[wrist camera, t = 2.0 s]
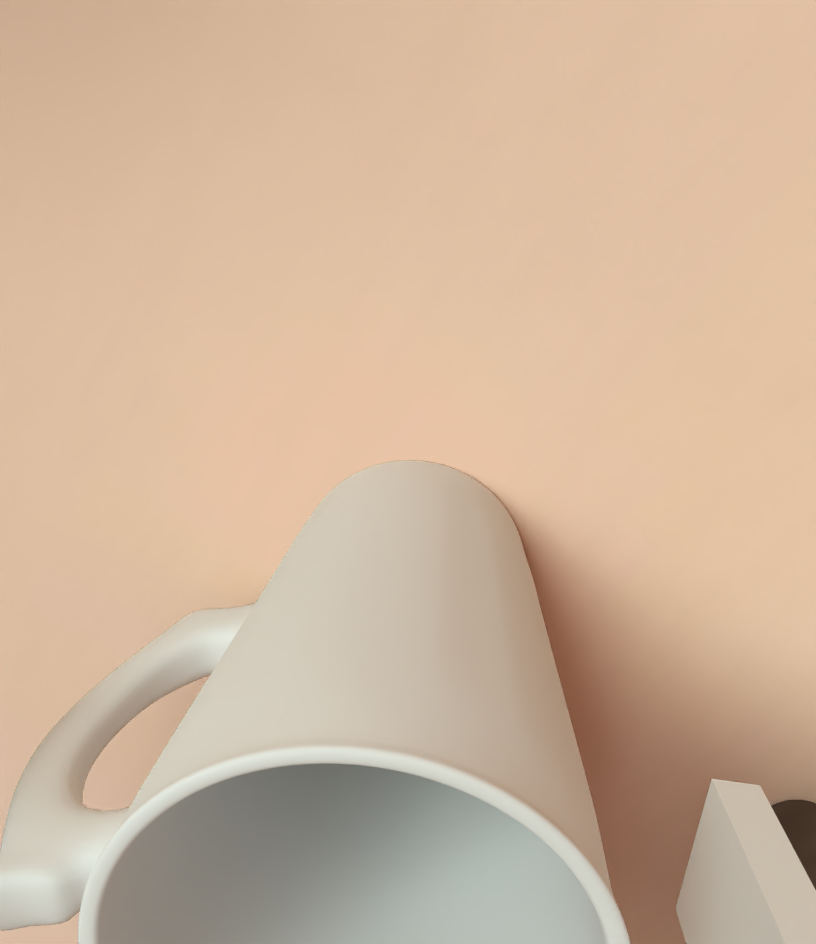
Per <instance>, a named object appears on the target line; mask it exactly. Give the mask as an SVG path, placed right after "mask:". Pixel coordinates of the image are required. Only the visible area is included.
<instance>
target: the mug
mask: <svg viewBox="0 0 816 944" xmlns="http://www.w3.org/2000/svg"><path fill="white" fill-rule="evenodd" d="M209 675H210V676H209ZM206 676H209V678H208V680H207V681H206V683H205V684H204V686H203V687H202V689H201V691H200V692H199V694H198V695H197V697H196V699H195V700H194V702H193V703H192V705H191V707H190V708H189V710H188V711H187V713H186V715H185V716H184V718H183V719H182V721H181V723H180V724H179V726H178V727H177V729H176V731H175V732H174V734H173V735H172V737H171V739H170V740H169V742H168V744H167V745H166V747H165V748H164V750H163V752H162V753H161V755H160V757H159V758H158V760H157V762H156V763H155V765H154V766H153V768H152V770H151V771H150V773H149V775H148V776H147V778H146V780H145V781H144V783H143V785H142V786H141V788H140V790H139V792H138V793H137V795H136V797H135V799H134V800H133V802H132V804H131V806H130V807H127V808H124V809H120V810H110V811H101V810H96V809H90V808H87V807H86V806H85V805H83V804H82V798H83V789H84V784H85V781H86V778H87V776H88V773H89V771H90V769H91V767H92V765H93V764H94V762H95V760H96V759H97V757H98V756H99V754H100V753H101V752H102V750H103V749H104V748H105V747H106V745H107V744H108V743H109V742H110V741H111V739H112V738H113V737H114V736H115V735H116V734H117V733H118V732H119V731H120V730H121V729H122V728H123V727H124V726H125V725H126V724H127V723H128V722H129V721H130V720H132V719H133V718H134V717H135V716H136V715H137V714H139V713H140V712H141V711H142V710H144V709H145V708H147V707H148V706H149V705H151V704H152V703H154V702H155V701H157V700H158V699H160V698H162V697H163V696H165V695H167V694H169V693H171V692H172V691H174V690H176V689H178V688H180V687H182V686H184V685H187V684H189V683H191V682H193V681H196V680H198V679H201V678H203V677H206ZM79 911H80V914H79V924H78V944H631V943H630V939H629V935H628V931H627V928H626V925H625V922H624V919H623V917H622V914H621V912H620V909H619V907H618V905H617V903H616V901H615V899H614V897H613V892H612V888H611V884H610V879H609V874H608V869H607V864H606V860H605V855H604V850H603V845H602V840H601V835H600V831H599V826H598V822H597V817H596V813H595V809H594V805H593V801H592V797H591V793H590V790H589V786H588V782H587V778H586V775H585V771H584V767H583V763H582V760H581V756H580V752H579V749H578V745H577V741H576V738H575V734H574V730H573V727H572V723H571V719H570V716H569V712H568V708H567V704H566V701H565V697H564V693H563V690H562V686H561V682H560V679H559V675H558V671H557V668H556V664H555V660H554V656H553V653H552V649H551V645H550V641H549V638H548V634H547V630H546V626H545V623H544V619H543V615H542V611H541V607H540V603H539V599H538V595H537V592H536V588H535V584H534V580H533V577H532V574H531V571H530V568H529V565H528V562H527V559H526V555H525V552H524V548H523V545H522V541H521V538H520V535H519V532H518V530H517V528H516V525H515V523H514V521H513V519H512V518H511V516H510V514H509V513H508V511H507V510H506V508H505V507H504V506H503V504H502V503H501V502H500V501H499V500H498V499H497V497H496V496H495V495H494V494H493V493H492V492H490V491H489V490H488V489H487V488H486V487H485V486H483V485H482V484H481V483H479V482H478V481H476V480H475V479H473V478H472V477H470V476H468V475H466V474H465V473H462V472H460V471H458V470H456V469H453V468H451V467H448V466H445V465H441V464H437V463H433V462H427V461H417V460H402V461H392V462H387V463H382V464H378V465H375V466H371V467H369V468H366V469H364V470H361V471H359V472H357V473H355V474H353V475H351V476H350V477H348V478H346V479H345V480H343V481H342V482H341V483H339V484H338V485H337V486H336V487H334V488H333V489H332V490H331V491H330V492H329V493H328V494H327V495H326V496H325V497H324V498H323V500H322V501H321V502H320V503H319V505H318V506H317V507H316V509H315V510H314V512H313V513H312V514H311V516H310V517H309V519H308V520H307V522H306V523H305V524H304V526H303V527H302V529H301V530H300V532H299V533H298V535H297V536H296V538H295V540H294V541H293V543H292V545H291V546H290V548H289V549H288V551H287V553H286V554H285V556H284V558H283V559H282V561H281V563H280V564H279V566H278V568H277V569H276V571H275V572H274V574H273V576H272V577H271V579H270V581H269V582H268V584H267V585H266V587H265V589H264V590H263V592H262V593H261V595H260V597H259V598H258V600H257V601H256V603H254V604H250V605H245V606H239V607H232V608H220V609H202V610H198V611H194V612H192V613H190V614H188V615H187V616H185V617H184V618H182V619H181V620H180V621H178V622H177V623H176V624H174V625H173V626H172V627H170V628H169V629H168V630H167V631H165V632H164V633H163V634H161V635H160V636H159V637H157V638H156V639H155V640H153V641H152V642H151V643H149V644H148V645H147V646H145V647H144V648H143V649H141V650H140V651H139V652H137V653H136V654H135V655H133V656H132V657H131V658H130V659H128V660H127V661H126V662H124V663H123V664H122V665H120V666H119V667H118V668H117V669H115V670H114V671H113V672H112V673H110V674H109V675H108V676H107V677H106V678H105V679H103V680H102V681H101V682H100V683H99V684H97V685H96V686H95V687H94V688H93V689H92V690H90V691H89V692H88V693H87V694H86V695H85V696H84V697H83V698H82V699H81V700H80V701H78V702H77V703H76V704H75V705H74V706H73V707H72V708H71V709H70V710H69V711H68V712H67V713H66V714H65V715H64V716H63V717H62V718H61V720H60V721H59V722H58V723H57V724H56V725H55V726H54V727H53V728H52V730H51V731H50V732H49V733H48V735H47V736H46V737H45V738H44V740H43V741H42V742H41V744H40V745H39V746H38V748H37V749H36V751H35V752H34V754H33V755H32V757H31V758H30V760H29V762H28V764H27V766H26V768H25V769H24V771H23V774H22V776H21V778H20V780H19V782H18V785H17V787H16V790H15V792H14V795H13V798H12V801H11V804H10V807H9V811H8V815H7V819H6V823H5V828H4V833H3V838H2V843H1V848H0V930H13V929H18V928H23V927H28V926H38V925H53V924H60V923H63V922H66V921H68V920H69V919H71V918H72V917H73V916H74V915H75V914H77V913H78V912H79Z"/></svg>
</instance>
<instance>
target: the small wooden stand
mask: <svg viewBox="0 0 816 944" xmlns="http://www.w3.org/2000/svg"><path fill="white" fill-rule="evenodd" d="M771 807H772V809H773V811H774V813H775V815H776V816H777V818H778V820H779V822H780V824H781V826H782V828H783V830H784V832H785V833H786V835H787V837H788V839H789V841H790V843H791V845H792V847H793V849H794V850H795V852H796V854H797V856H798V858H799V860H800V862H801V864H802V866H803V867H804V869H805V871H806V873H807V875H808V877H809V879H810V881H811V883H812V884H813V886H814V888H815V890H816V804H815V803H812V802H809V801H804V800H790V801H784V802H780V803H778V804H775V805H773V806H771Z"/></svg>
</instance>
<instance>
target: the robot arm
mask: <svg viewBox="0 0 816 944" xmlns="http://www.w3.org/2000/svg"><path fill="white" fill-rule="evenodd" d="M676 912H677V915H678V919H679V922H680V925H681V928H682V932H683V935H684V938H685V942H686V944H816V890H815V888H814V886H813V884H812V883H811V881H810V879H809V877H808V875H807V873H806V871H805V869H804V867H803V866H802V864H801V862H800V860H799V858H798V856H797V854H796V852H795V850H794V849H793V847H792V845H791V843H790V841H789V839H788V837H787V835H786V833H785V832H784V830H783V828H782V826H781V824H780V822H779V820H778V818H777V816H776V815H775V813H774V811H773V809H772V807H771V805H770V803H769V801H768V799H767V798H766V796H765V794H764V792H763V790H762V788H761V786H760V785H755V784H747V783H740V782H733V781H726V780H719V779H711V783H710V786H709V790H708V794H707V797H706V801H705V804H704V808H703V812H702V815H701V819H700V822H699V826H698V830H697V833H696V837H695V840H694V844H693V848H692V851H691V855H690V858H689V862H688V866H687V869H686V873H685V876H684V880H683V884H682V887H681V891H680V894H679V898H678V902H677V905H676Z"/></svg>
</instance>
